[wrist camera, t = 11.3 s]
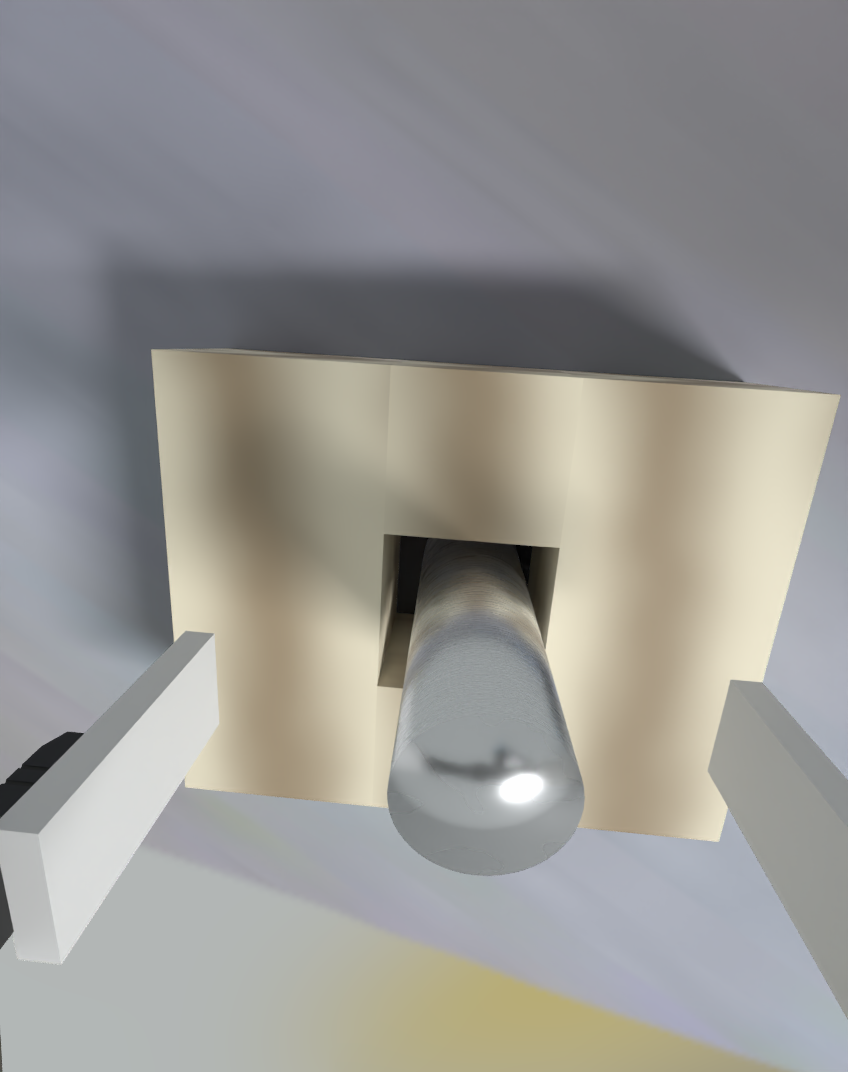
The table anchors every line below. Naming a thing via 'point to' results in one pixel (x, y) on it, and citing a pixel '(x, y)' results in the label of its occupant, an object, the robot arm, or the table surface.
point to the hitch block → (485, 516)
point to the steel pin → (481, 721)
